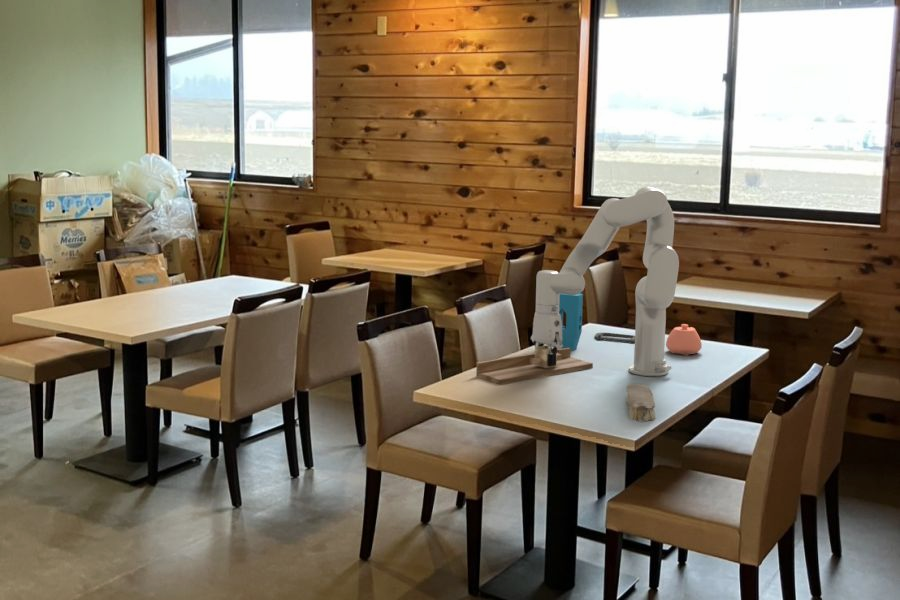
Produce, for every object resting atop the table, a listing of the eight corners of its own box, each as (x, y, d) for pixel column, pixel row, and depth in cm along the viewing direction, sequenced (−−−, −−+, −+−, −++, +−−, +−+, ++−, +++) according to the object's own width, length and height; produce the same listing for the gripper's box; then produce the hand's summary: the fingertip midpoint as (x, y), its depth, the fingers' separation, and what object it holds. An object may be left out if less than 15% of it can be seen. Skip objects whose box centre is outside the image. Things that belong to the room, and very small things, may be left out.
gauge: (564, 364, 319) (565, 345, 317) (536, 369, 312) (536, 349, 311) (554, 361, 323) (555, 342, 321) (526, 366, 316) (526, 346, 315)
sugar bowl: (659, 352, 346) (660, 324, 344) (678, 346, 356) (680, 319, 355) (690, 358, 338) (691, 329, 336) (709, 351, 348) (711, 323, 347)
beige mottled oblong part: (657, 423, 264) (658, 405, 263) (629, 422, 265) (630, 404, 264) (649, 399, 288) (650, 382, 287) (624, 398, 288) (624, 381, 288)
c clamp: (652, 340, 369) (652, 333, 368) (637, 349, 354) (638, 341, 353) (601, 334, 378) (601, 327, 378) (585, 342, 363) (585, 335, 363)
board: (592, 367, 323) (593, 354, 323) (499, 384, 301) (499, 370, 300) (568, 360, 333) (568, 347, 332) (476, 376, 311) (476, 362, 310)
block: (545, 347, 353) (547, 292, 349) (551, 344, 357) (553, 290, 354) (576, 351, 347) (578, 295, 343) (581, 348, 351) (583, 294, 347)
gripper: (573, 312, 309) (572, 367, 312) (539, 303, 323) (537, 357, 326) (555, 314, 305) (554, 371, 308) (521, 306, 319) (520, 360, 322)
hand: (545, 363), depth 317 cm, fingers closed on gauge, 5 cm apart
